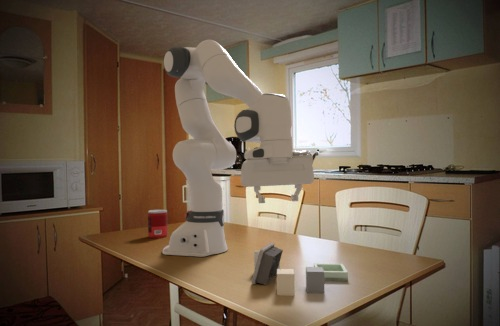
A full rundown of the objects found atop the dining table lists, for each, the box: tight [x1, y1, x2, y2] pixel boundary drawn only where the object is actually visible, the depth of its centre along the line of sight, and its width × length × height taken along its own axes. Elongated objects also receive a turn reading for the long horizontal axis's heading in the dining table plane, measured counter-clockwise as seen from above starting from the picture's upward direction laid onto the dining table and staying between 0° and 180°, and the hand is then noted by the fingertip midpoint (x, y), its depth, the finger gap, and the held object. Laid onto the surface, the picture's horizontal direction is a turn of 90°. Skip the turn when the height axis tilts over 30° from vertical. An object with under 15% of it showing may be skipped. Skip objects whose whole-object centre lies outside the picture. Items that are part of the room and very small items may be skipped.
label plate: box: [253, 250, 281, 269], centre depth 104 cm, size 7×1×6 cm, turn 85°
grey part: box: [305, 266, 325, 294], centre depth 89 cm, size 4×4×5 cm
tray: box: [313, 263, 349, 282], centre depth 100 cm, size 8×8×2 cm
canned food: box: [147, 209, 168, 239], centre depth 157 cm, size 8×8×11 cm
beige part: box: [276, 268, 296, 297], centre depth 88 cm, size 4×4×5 cm
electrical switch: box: [251, 242, 284, 286], centre depth 97 cm, size 9×5×9 cm, turn 158°
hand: (278, 202), depth 102 cm, fingers open, 8 cm apart
